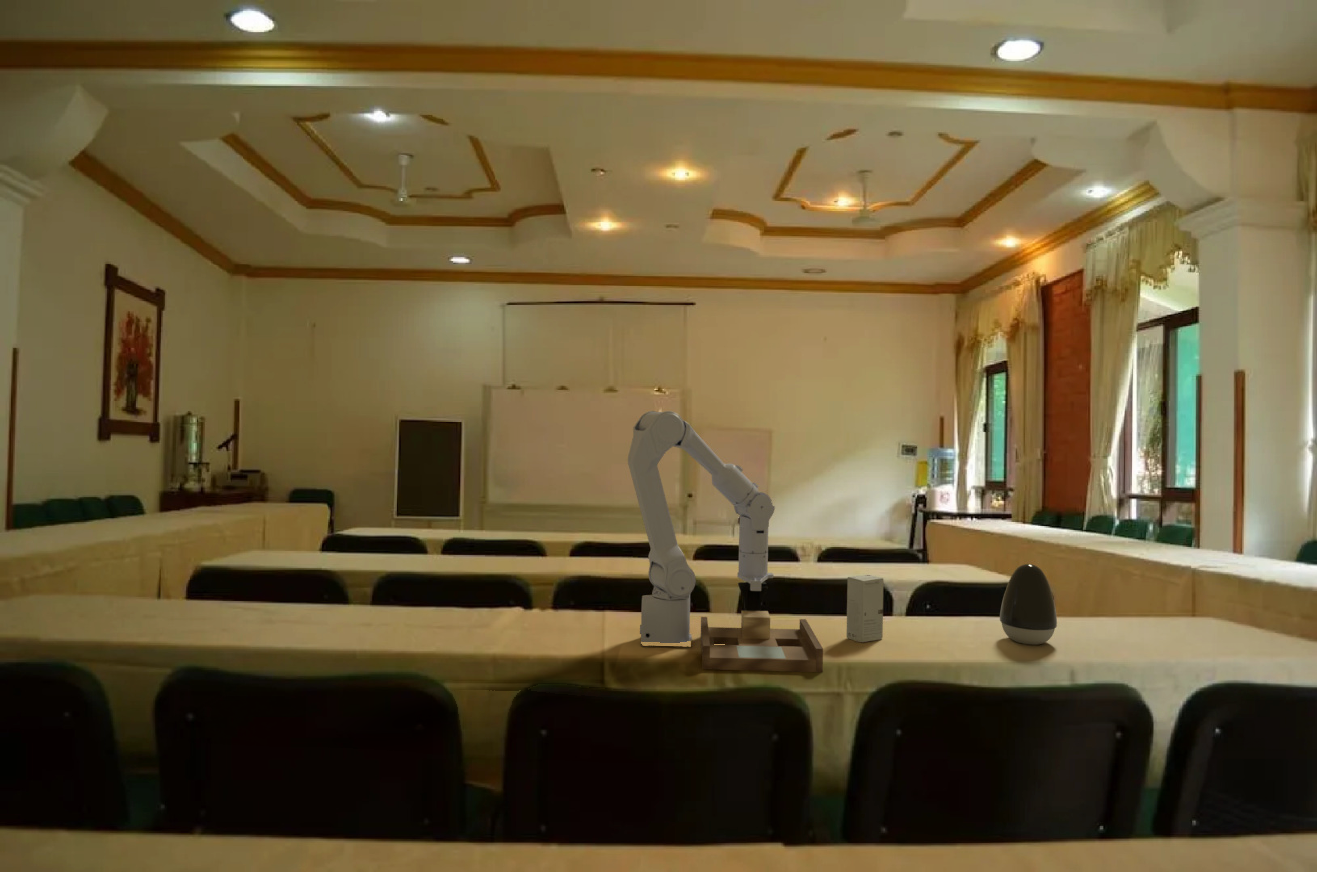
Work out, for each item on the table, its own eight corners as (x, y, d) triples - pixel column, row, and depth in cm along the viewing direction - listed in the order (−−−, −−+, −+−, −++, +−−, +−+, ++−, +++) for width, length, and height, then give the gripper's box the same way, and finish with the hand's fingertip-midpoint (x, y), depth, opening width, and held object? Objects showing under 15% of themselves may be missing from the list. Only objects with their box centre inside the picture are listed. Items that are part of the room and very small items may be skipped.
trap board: (702, 668, 139) (702, 645, 139) (700, 637, 159) (700, 616, 159) (822, 672, 138) (823, 648, 138) (805, 639, 158) (805, 619, 158)
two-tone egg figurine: (1055, 637, 162) (1057, 562, 162) (1056, 651, 153) (1059, 570, 152) (1000, 631, 167) (1002, 557, 166) (998, 644, 157) (1000, 565, 157)
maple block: (742, 638, 151) (743, 617, 151) (741, 631, 156) (741, 610, 156) (769, 639, 151) (770, 617, 151) (767, 631, 156) (767, 611, 156)
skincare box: (862, 643, 156) (863, 580, 156) (844, 638, 160) (846, 576, 160) (884, 639, 160) (885, 577, 159) (866, 633, 163) (867, 573, 163)
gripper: (777, 558, 153) (776, 629, 154) (769, 545, 168) (768, 611, 168) (740, 557, 154) (739, 628, 154) (735, 545, 168) (734, 610, 169)
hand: (752, 619), depth 161 cm, fingers closed
